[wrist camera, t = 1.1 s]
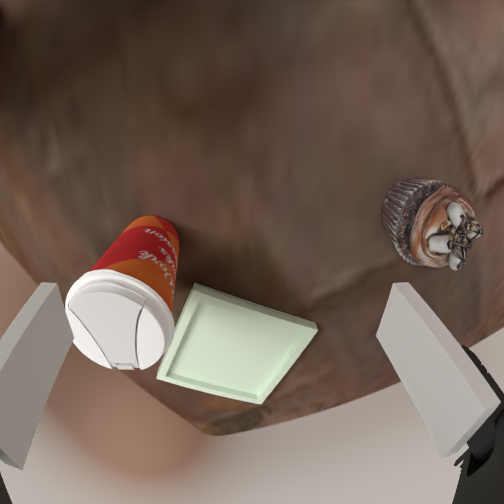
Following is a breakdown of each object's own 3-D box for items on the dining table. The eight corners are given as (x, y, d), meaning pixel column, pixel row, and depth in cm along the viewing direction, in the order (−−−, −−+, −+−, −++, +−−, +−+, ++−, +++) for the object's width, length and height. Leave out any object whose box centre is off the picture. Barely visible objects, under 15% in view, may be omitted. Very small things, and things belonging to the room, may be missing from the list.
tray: (157, 370, 41) (156, 378, 40) (194, 282, 35) (193, 290, 34) (259, 396, 45) (260, 404, 44) (315, 322, 39) (318, 330, 38)
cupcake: (391, 158, 30) (447, 182, 22) (450, 185, 32) (505, 214, 23) (362, 237, 34) (404, 283, 25) (422, 253, 36) (467, 296, 27)
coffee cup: (194, 273, 35) (181, 377, 21) (124, 276, 34) (81, 373, 21) (186, 199, 31) (159, 278, 17) (109, 206, 30) (41, 282, 17)
